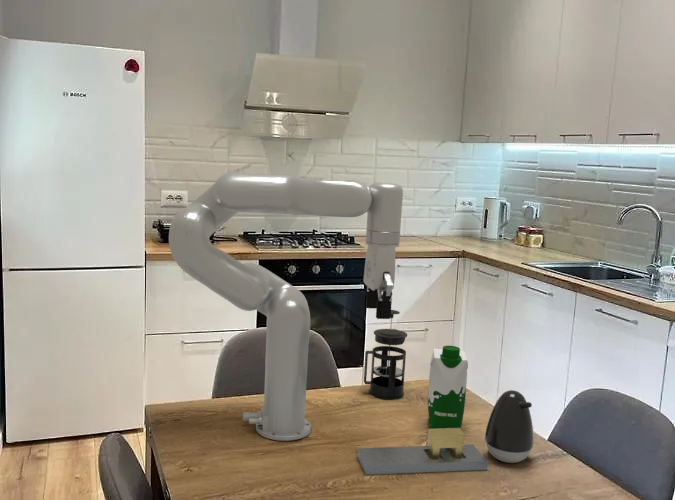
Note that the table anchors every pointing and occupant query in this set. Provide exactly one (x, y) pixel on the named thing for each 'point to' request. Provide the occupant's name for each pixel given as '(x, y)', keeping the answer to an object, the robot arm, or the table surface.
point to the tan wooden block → (445, 442)
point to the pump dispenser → (510, 428)
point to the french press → (387, 381)
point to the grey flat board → (418, 460)
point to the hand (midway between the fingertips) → (377, 313)
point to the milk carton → (447, 387)
